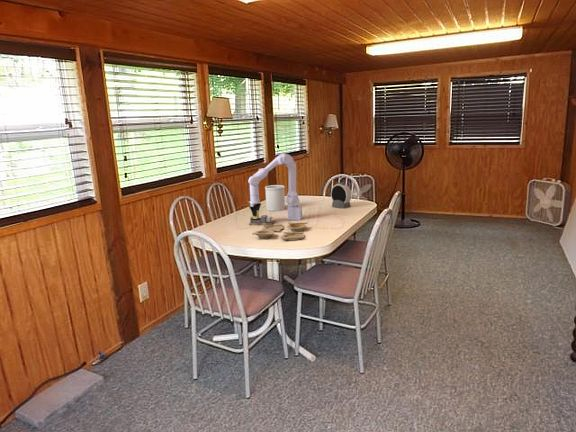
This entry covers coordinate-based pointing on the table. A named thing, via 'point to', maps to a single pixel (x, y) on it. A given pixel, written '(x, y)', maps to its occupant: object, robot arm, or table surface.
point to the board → (263, 223)
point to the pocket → (255, 220)
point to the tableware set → (270, 229)
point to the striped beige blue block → (268, 219)
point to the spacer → (256, 216)
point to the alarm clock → (341, 195)
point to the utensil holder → (275, 197)
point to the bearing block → (263, 218)
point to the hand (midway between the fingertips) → (255, 215)
